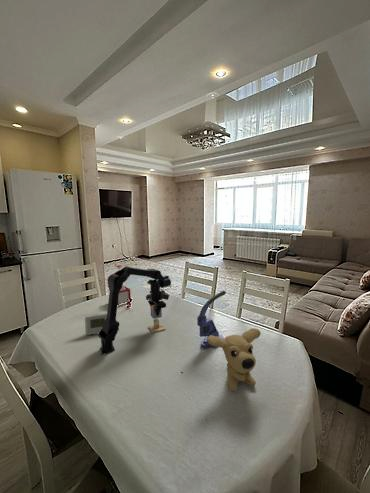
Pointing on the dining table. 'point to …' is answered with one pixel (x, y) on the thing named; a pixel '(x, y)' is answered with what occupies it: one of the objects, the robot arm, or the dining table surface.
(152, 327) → the tan piece
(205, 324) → the hand press
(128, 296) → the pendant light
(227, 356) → the toy
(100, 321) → the digital clock
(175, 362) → the dining table surface
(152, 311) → the grey-topped salmon cube
